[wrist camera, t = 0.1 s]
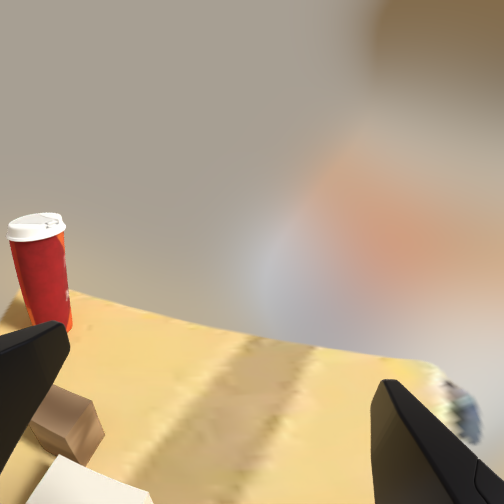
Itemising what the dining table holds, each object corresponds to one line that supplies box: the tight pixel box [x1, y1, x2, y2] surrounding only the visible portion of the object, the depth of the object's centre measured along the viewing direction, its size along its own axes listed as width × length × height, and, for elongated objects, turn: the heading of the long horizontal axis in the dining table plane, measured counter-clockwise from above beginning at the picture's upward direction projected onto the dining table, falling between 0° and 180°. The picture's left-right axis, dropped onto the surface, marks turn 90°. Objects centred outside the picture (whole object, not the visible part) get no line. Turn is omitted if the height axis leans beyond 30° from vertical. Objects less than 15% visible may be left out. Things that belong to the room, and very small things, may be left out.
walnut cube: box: [29, 384, 105, 467], centre depth 18 cm, size 4×4×4 cm
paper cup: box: [6, 213, 72, 333], centre depth 31 cm, size 8×8×14 cm
